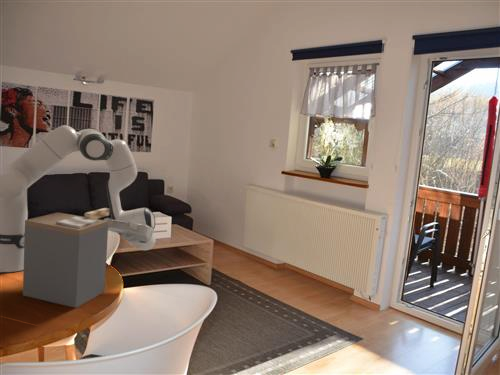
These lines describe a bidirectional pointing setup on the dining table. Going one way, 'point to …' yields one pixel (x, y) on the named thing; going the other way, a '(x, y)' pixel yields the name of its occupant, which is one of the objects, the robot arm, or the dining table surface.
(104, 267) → the grey box
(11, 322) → the dining table surface
